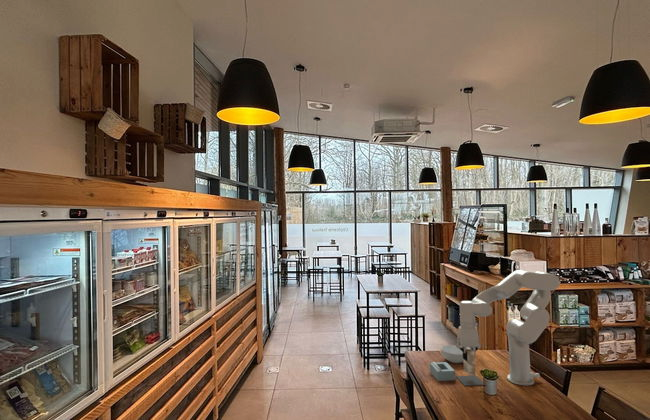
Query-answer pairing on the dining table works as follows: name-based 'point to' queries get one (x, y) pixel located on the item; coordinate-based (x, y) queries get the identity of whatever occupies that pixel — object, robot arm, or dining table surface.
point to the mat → (470, 380)
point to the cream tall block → (469, 362)
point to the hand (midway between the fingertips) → (468, 359)
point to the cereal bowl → (452, 353)
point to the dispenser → (442, 371)
